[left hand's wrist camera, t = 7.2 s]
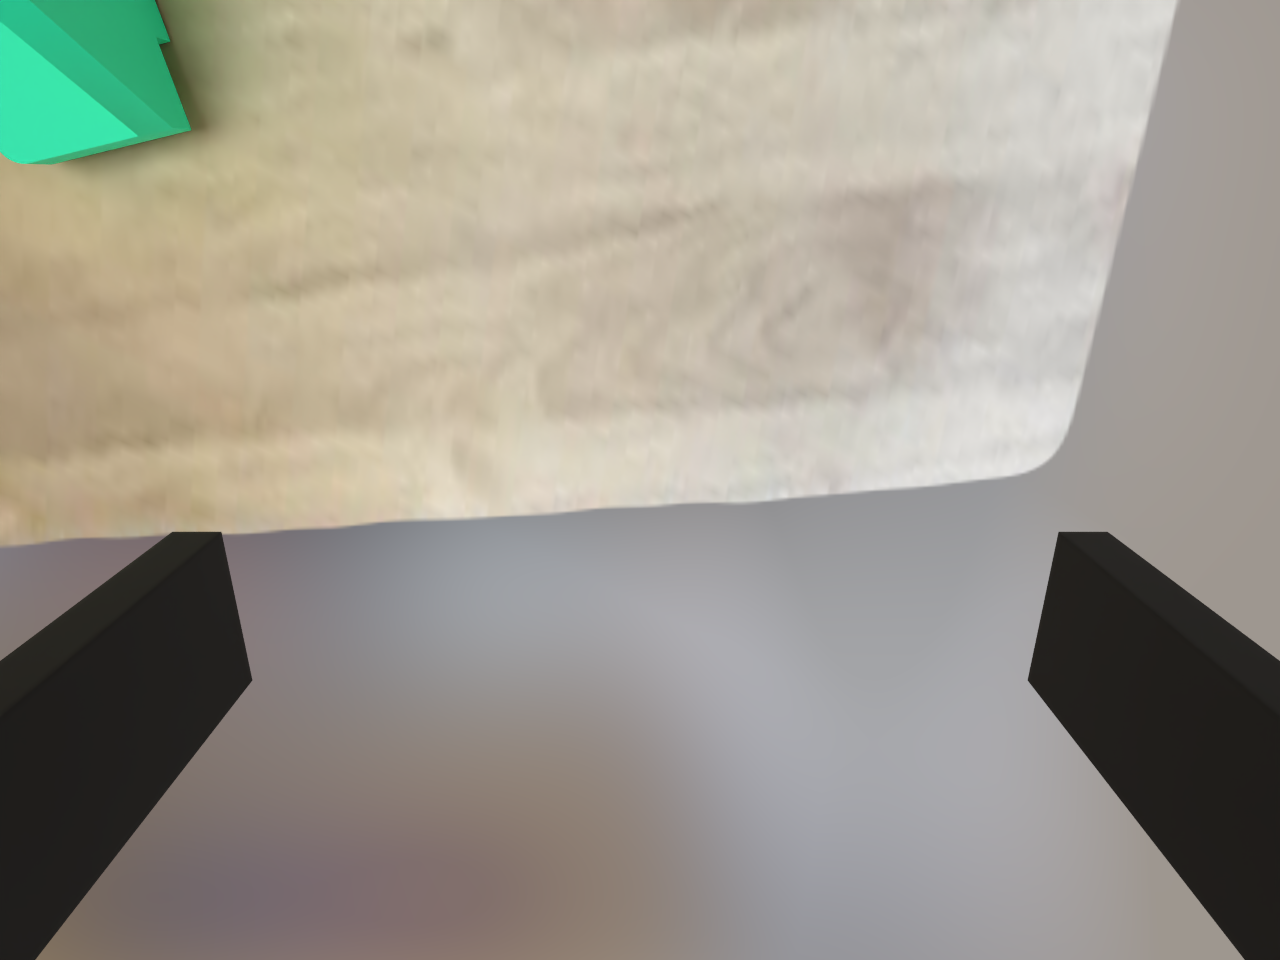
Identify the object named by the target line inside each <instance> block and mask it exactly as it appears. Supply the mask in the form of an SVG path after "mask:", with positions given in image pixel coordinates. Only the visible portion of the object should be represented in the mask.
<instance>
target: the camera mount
mask: <svg viewBox="0 0 1280 960" xmlns="http://www.w3.org/2000/svg"><path fill="white" fill-rule="evenodd" d="M167 42H170V39H169V36H168V34H167V31H166V28H165V26H164V23H163V20H162V18H161V15H160V12H159V10H158V7H157V5H156V2H155V0H0V152H1V153H2V154H3V155H4V156H5V157H7V158H8V159H10V160H12V161H14V162H17V163H21V164H56V163H60V162H64V161H68V160H72V159H76V158H80V157H84V156H88V155H92V154H96V153H101V152H105V151H109V150H113V149H117V148H121V147H125V146H129V145H133V144H137V143H141V142H145V141H150V140H154V139H158V138H162V137H166V136H170V135H174V134H178V133H182V132H186V131H190V130H191V127H190V125H189V122H188V120H187V117H186V114H185V112H184V109H183V106H182V104H181V101H180V99H179V96H178V93H177V91H176V88H175V86H174V83H173V80H172V78H171V75H170V72H169V70H168V67H167V65H166V62H165V59H164V57H163V54H162V52H161V49H160V46H159V44H163V43H167Z"/></svg>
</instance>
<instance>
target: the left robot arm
mask: <svg viewBox="0 0 1280 960" xmlns="http://www.w3.org/2000/svg"><path fill="white" fill-rule="evenodd" d="M251 681H252V677H251V672H250V667H249V662H248V658H247V653H246V648H245V643H244V638H243V634H242V629H241V624H240V619H239V615H238V610H237V605H236V600H235V595H234V590H233V586H232V581H231V576H230V571H229V566H228V562H227V557H226V552H225V547H224V542H223V538H222V533H221V532H172V533H170V534H169V535H168V536H166V537H165V538H164V539H162V540H161V541H160V542H158V543H157V544H156V545H154V546H153V547H152V548H150V549H149V550H148V551H146V552H145V553H144V554H142V555H141V556H140V557H138V558H137V559H136V560H134V561H133V562H132V563H130V564H129V565H128V566H126V567H125V568H124V569H122V570H121V571H120V572H118V573H117V574H116V575H114V576H113V577H112V578H110V579H109V580H108V581H106V582H105V583H104V584H102V585H101V586H100V587H98V588H97V589H96V590H94V591H93V592H92V593H90V594H89V595H88V596H86V597H85V598H84V599H82V600H81V601H80V602H78V603H77V604H76V605H74V606H73V607H72V608H70V609H69V610H68V611H66V612H65V613H64V614H62V615H61V616H60V617H58V618H57V619H56V620H54V621H53V622H52V623H50V624H49V625H48V626H46V627H45V628H44V629H42V630H41V631H40V632H38V633H37V634H36V635H34V636H33V637H32V638H30V639H29V640H28V641H26V642H25V643H24V644H22V645H21V646H20V647H18V648H17V649H16V650H14V651H13V652H12V653H10V654H9V655H8V656H6V657H5V658H4V659H2V660H1V661H0V960H35V959H36V958H37V957H38V955H39V954H40V953H41V952H42V950H43V949H44V948H45V946H46V945H47V944H48V943H49V941H50V940H51V939H52V937H53V936H54V935H55V934H56V932H57V931H58V930H59V928H60V927H61V926H62V925H63V923H64V922H65V921H66V919H67V918H68V917H69V915H70V914H71V913H72V912H73V910H74V909H75V908H76V907H77V905H78V904H79V903H80V901H81V900H82V899H83V898H84V896H85V895H86V894H87V892H88V891H89V890H90V889H91V887H92V886H93V885H94V883H95V882H96V881H97V879H98V878H99V877H100V876H101V874H102V873H103V872H104V870H105V869H106V868H107V867H108V865H109V864H110V863H111V861H112V860H113V859H114V858H115V856H116V855H117V854H118V852H119V851H120V850H121V849H122V847H123V846H124V845H125V843H126V842H127V841H128V840H129V838H130V837H131V836H132V834H133V833H134V832H135V831H136V829H137V828H138V827H139V825H140V824H141V823H142V822H143V820H144V819H145V818H146V816H147V815H148V814H149V812H150V811H151V810H152V809H153V807H154V806H155V805H156V804H157V802H158V801H159V800H160V798H161V797H162V796H163V795H164V793H165V792H166V791H167V789H168V788H169V787H170V785H171V784H172V783H173V782H174V780H175V779H176V778H177V777H178V775H179V774H180V773H181V771H182V770H183V769H184V768H185V766H186V765H187V764H188V762H189V761H190V760H191V759H192V757H193V756H194V755H195V753H196V752H197V751H198V750H199V748H200V747H201V746H202V744H203V743H204V742H205V741H206V739H207V738H208V737H209V735H210V734H211V733H212V731H213V730H214V729H215V728H216V726H217V725H218V724H219V722H220V721H221V720H222V719H223V717H224V716H225V715H226V713H227V712H228V711H229V710H230V708H231V707H232V706H233V704H234V703H235V702H236V701H237V699H238V698H239V697H240V695H241V694H242V693H243V692H244V690H245V689H246V688H247V686H248V685H249V684H250V683H251ZM1028 681H1029V683H1030V684H1031V685H1032V686H1033V688H1034V689H1035V690H1036V692H1037V693H1038V694H1039V695H1040V697H1041V698H1042V699H1043V701H1044V702H1045V703H1046V704H1047V706H1048V707H1049V708H1050V710H1051V711H1052V712H1053V713H1054V715H1055V716H1056V717H1057V719H1058V720H1059V721H1060V722H1061V724H1062V725H1063V726H1064V728H1065V729H1066V730H1067V731H1068V733H1069V734H1070V735H1071V737H1072V738H1073V739H1074V741H1075V742H1076V743H1077V744H1078V746H1079V747H1080V748H1081V749H1082V751H1083V752H1084V753H1085V755H1086V756H1087V757H1088V759H1089V760H1090V761H1091V762H1092V764H1093V765H1094V766H1095V768H1096V769H1097V770H1098V771H1099V773H1100V774H1101V775H1102V777H1103V778H1104V779H1105V780H1106V782H1107V783H1108V784H1109V786H1110V787H1111V788H1112V789H1113V791H1114V792H1115V793H1116V794H1117V796H1118V797H1119V798H1120V800H1121V801H1122V802H1123V804H1124V805H1125V806H1126V807H1127V809H1128V810H1129V811H1130V813H1131V814H1132V815H1133V816H1134V818H1135V819H1136V820H1137V822H1138V823H1139V824H1140V825H1141V827H1142V828H1143V829H1144V831H1145V832H1146V833H1147V834H1148V836H1149V837H1150V838H1151V840H1152V841H1153V842H1154V843H1155V845H1156V846H1157V847H1158V849H1159V850H1160V851H1161V852H1162V854H1163V855H1164V856H1165V858H1166V859H1167V860H1168V861H1169V863H1170V864H1171V865H1172V867H1173V868H1174V869H1175V870H1176V872H1177V873H1178V874H1179V876H1180V877H1181V878H1182V879H1183V881H1184V882H1185V883H1186V885H1187V886H1188V887H1189V889H1190V890H1191V891H1192V892H1193V894H1194V895H1195V896H1196V898H1197V899H1198V900H1199V901H1200V903H1201V904H1202V905H1203V907H1204V908H1205V909H1206V910H1207V912H1208V913H1209V914H1210V916H1211V917H1212V918H1213V919H1214V921H1215V922H1216V923H1217V925H1218V926H1219V927H1220V928H1221V930H1222V931H1223V932H1224V934H1225V935H1226V936H1227V937H1228V939H1229V940H1230V941H1231V943H1232V944H1233V945H1234V946H1235V948H1236V949H1237V950H1238V952H1239V953H1240V954H1241V955H1242V957H1243V958H1244V959H1245V960H1280V661H1279V660H1278V659H1276V658H1275V657H1274V656H1272V655H1271V654H1270V653H1268V652H1267V651H1266V650H1264V649H1263V648H1262V647H1260V646H1259V645H1258V644H1256V643H1255V642H1254V641H1252V640H1251V639H1250V638H1248V637H1247V636H1246V635H1244V634H1243V633H1242V632H1240V631H1239V630H1238V629H1236V628H1235V627H1234V626H1232V625H1231V624H1230V623H1228V622H1227V621H1226V620H1224V619H1223V618H1222V617H1220V616H1219V615H1218V614H1216V613H1215V612H1214V611H1212V610H1211V609H1210V608H1208V607H1207V606H1206V605H1204V604H1203V603H1202V602H1200V601H1199V600H1198V599H1196V598H1195V597H1194V596H1192V595H1191V594H1190V593H1188V592H1187V591H1186V590H1184V589H1183V588H1182V587H1180V586H1179V585H1178V584H1176V583H1175V582H1174V581H1172V580H1171V579H1170V578H1168V577H1167V576H1166V575H1164V574H1163V573H1162V572H1160V571H1159V570H1158V569H1156V568H1155V567H1154V566H1152V565H1151V564H1150V563H1148V562H1147V561H1146V560H1144V559H1143V558H1142V557H1140V556H1139V555H1138V554H1136V553H1135V552H1134V551H1132V550H1131V549H1130V548H1128V547H1127V546H1126V545H1124V544H1123V543H1122V542H1120V541H1119V540H1118V539H1116V538H1115V537H1114V536H1112V535H1111V534H1110V533H1108V532H1059V533H1058V538H1057V542H1056V547H1055V552H1054V557H1053V562H1052V567H1051V571H1050V576H1049V581H1048V586H1047V590H1046V595H1045V600H1044V605H1043V610H1042V614H1041V619H1040V624H1039V629H1038V634H1037V638H1036V643H1035V648H1034V653H1033V658H1032V663H1031V667H1030V672H1029V677H1028Z"/></svg>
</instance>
